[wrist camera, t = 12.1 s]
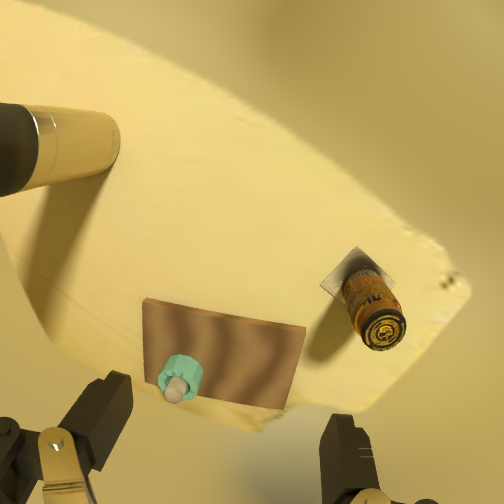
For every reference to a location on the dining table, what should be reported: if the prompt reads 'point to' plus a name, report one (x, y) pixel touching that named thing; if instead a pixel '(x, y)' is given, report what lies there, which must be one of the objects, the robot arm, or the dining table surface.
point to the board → (222, 353)
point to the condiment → (368, 300)
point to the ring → (182, 374)
